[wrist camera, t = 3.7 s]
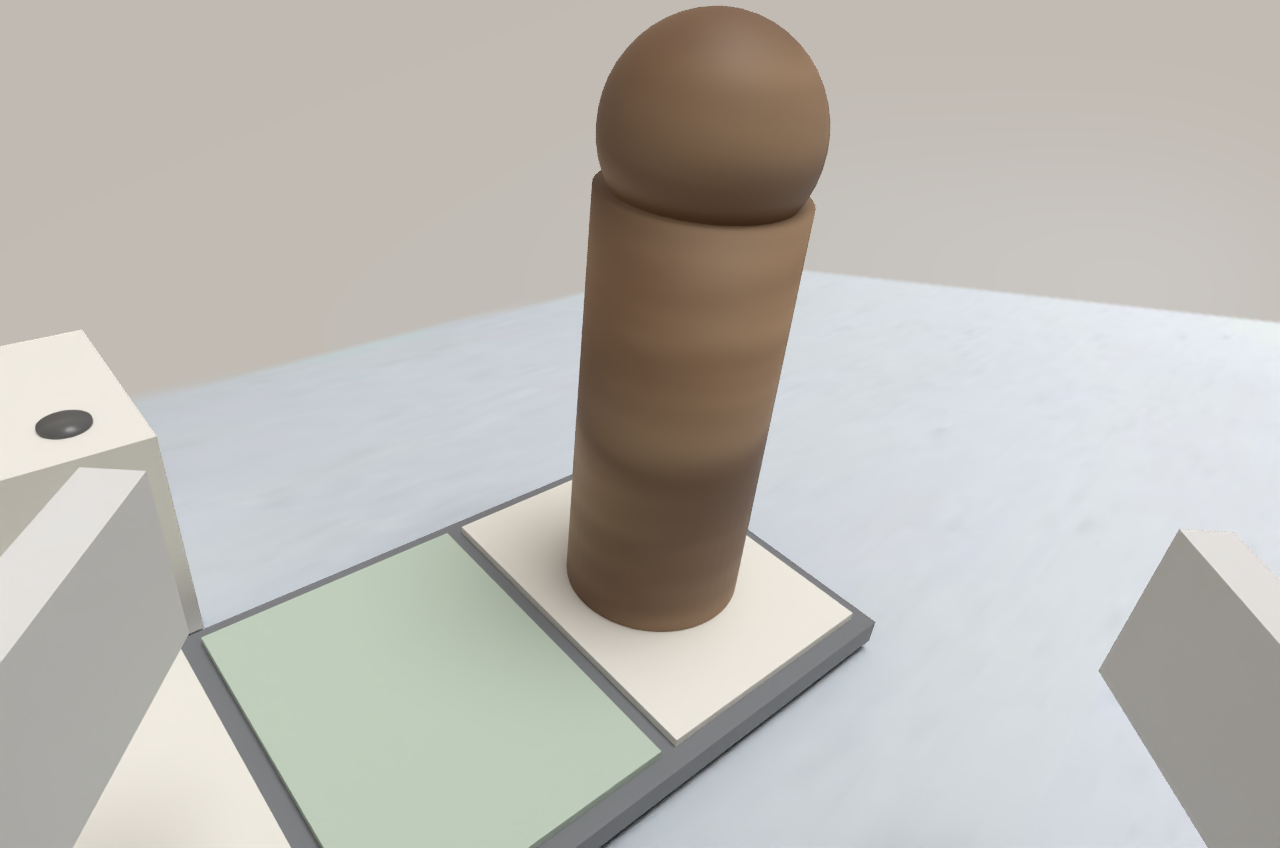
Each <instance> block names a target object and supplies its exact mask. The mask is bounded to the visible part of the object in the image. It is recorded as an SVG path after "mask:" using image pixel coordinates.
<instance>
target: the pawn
mask: <svg viewBox="0 0 1280 848" xmlns="http://www.w3.org/2000/svg"><path fill="white" fill-rule="evenodd" d="M829 138H830V114H829V106H828V101H827V97H826V93H825V89H824V85H823V83H822V80H821V78H820V76H819V73H818V70H817V69H816V67H815V65H814V63H813V62H812V60H811V58H810V56H809V55H808V54H807V53H806V51H805V50H804V49H803V47H802V46H801V45H800V44H799V43H798V42H797V41H796V40H795V39H794V38H793V37H792V36H791V35H790V34H789V33H788V32H787V31H785V30H784V29H783V28H781V27H780V26H779V25H777V24H776V23H774V22H773V21H771V20H769V19H767V18H765V17H763V16H761V15H759V14H756V13H753V12H750V11H747V10H744V9H740V8H735V7H727V6H707V7H698V8H693V9H689V10H685V11H681V12H679V13H677V14H674V15H671V16H669V17H666V18H665V19H663V20H661V21H659V22H658V23H656V24H654V25H652V26H651V27H650V28H649V29H647V30H646V31H644V32H643V33H642V34H641V35H639V36H638V37H637V38H636V39H635V40H634V41H633V43H631V44H630V46H629V47H628V48H627V49H626V50H625V51H624V53H623V54H622V55H621V57H620V58H619V59H618V61H617V62H616V64H615V66H614V67H613V69H612V71H611V73H610V74H609V76H608V79H607V82H606V84H605V86H604V89H603V91H602V95H601V99H600V103H599V107H598V114H597V122H596V145H597V153H598V159H599V162H600V166H601V171H599V172H598V173H597V174H596V175H595V176H594V178H593V182H592V194H591V208H590V222H589V238H588V252H587V253H588V254H587V267H586V282H585V297H584V312H583V327H582V342H581V357H580V372H579V387H578V401H577V416H576V431H575V446H574V461H573V476H572V491H571V506H570V521H569V536H568V551H567V566H566V567H567V575H568V579H569V582H570V584H571V586H572V588H573V590H574V592H575V593H576V594H577V596H578V597H579V598H580V599H581V600H582V602H583V603H584V604H585V605H587V606H588V607H589V608H590V609H591V610H593V611H594V612H596V613H597V614H599V615H600V616H602V617H604V618H606V619H608V620H610V621H612V622H614V623H617V624H620V625H622V626H626V627H629V628H633V629H638V630H644V631H655V632H668V631H678V630H684V629H688V628H692V627H695V626H698V625H700V624H703V623H705V622H707V621H709V620H711V619H712V618H714V617H715V616H716V615H718V614H719V613H720V612H721V611H722V610H723V609H724V608H725V607H726V606H727V605H728V603H729V602H730V600H731V598H732V596H733V594H734V591H735V586H736V582H737V577H738V572H739V568H740V563H741V558H742V554H743V549H744V544H745V539H746V535H747V530H748V525H749V521H750V516H751V511H752V506H753V502H754V497H755V492H756V487H757V483H758V478H759V473H760V469H761V464H762V459H763V454H764V450H765V445H766V440H767V436H768V431H769V426H770V421H771V417H772V412H773V407H774V403H775V398H776V393H777V388H778V384H779V379H780V374H781V370H782V365H783V360H784V355H785V351H786V346H787V341H788V337H789V332H790V327H791V322H792V318H793V313H794V308H795V303H796V299H797V294H798V289H799V285H800V280H801V275H802V270H803V266H804V261H805V256H806V252H807V247H808V242H809V237H810V233H811V228H812V223H813V218H814V214H815V204H814V202H813V200H812V199H811V198H810V195H811V193H812V191H813V190H814V188H815V186H816V184H817V182H818V180H819V177H820V175H821V172H822V170H823V167H824V163H825V159H826V156H827V152H828V145H829Z"/></svg>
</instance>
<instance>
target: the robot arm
mask: <svg viewBox="0 0 1280 848" xmlns="http://www.w3.org/2000/svg"><path fill="white" fill-rule="evenodd" d="M188 635H189V630H188V626H187V623H186V619H185V615H184V611H183V608H182V604H181V600H180V596H179V593H178V589H177V585H176V581H175V577H174V574H173V570H172V566H171V562H170V559H169V555H168V551H167V547H166V543H165V540H164V536H163V532H162V528H161V525H160V521H159V517H158V513H157V509H156V506H155V502H154V498H153V494H152V491H151V487H150V483H149V479H148V475H147V472H146V471H137V470H119V469H101V468H83V467H79V468H78V469H77V470H76V471H75V473H74V474H73V475H72V476H71V477H70V478H69V479H68V481H67V482H66V483H65V484H64V485H63V486H62V487H61V489H60V490H59V491H58V492H57V493H56V494H55V495H54V497H53V498H52V499H51V500H50V501H49V502H48V503H47V504H46V506H45V507H44V508H43V509H42V510H41V511H40V512H39V514H38V515H37V516H36V517H35V518H34V519H33V520H32V522H31V523H30V524H29V525H28V526H27V527H26V528H25V530H24V531H23V532H22V533H21V534H20V535H19V536H18V537H17V539H16V540H15V541H14V542H13V543H12V544H11V545H10V547H9V548H8V549H7V550H6V551H5V552H4V553H3V555H2V556H1V557H0V848H73V847H74V845H75V843H76V841H77V839H78V837H79V836H80V834H81V832H82V830H83V828H84V826H85V824H86V823H87V821H88V819H89V817H90V815H91V813H92V812H93V810H94V808H95V806H96V804H97V802H98V801H99V799H100V797H101V795H102V793H103V791H104V789H105V788H106V786H107V784H108V782H109V780H110V778H111V777H112V775H113V773H114V771H115V769H116V767H117V766H118V764H119V762H120V760H121V758H122V756H123V754H124V753H125V751H126V749H127V747H128V745H129V743H130V742H131V740H132V738H133V736H134V734H135V732H136V731H137V729H138V727H139V725H140V723H141V721H142V719H143V718H144V716H145V714H146V712H147V710H148V708H149V707H150V705H151V703H152V701H153V699H154V697H155V696H156V694H157V692H158V690H159V688H160V686H161V684H162V683H163V681H164V679H165V677H166V675H167V673H168V672H169V670H170V668H171V666H172V664H173V662H174V661H175V659H176V657H177V655H178V653H179V651H180V649H181V648H182V646H183V644H184V642H185V640H186V638H187V637H188ZM1099 672H1100V674H1101V675H1102V677H1103V679H1104V680H1105V682H1106V684H1107V685H1108V687H1109V688H1110V690H1111V692H1112V693H1113V695H1114V696H1115V698H1116V700H1117V701H1118V703H1119V705H1120V706H1121V708H1122V709H1123V711H1124V713H1125V714H1126V716H1127V718H1128V719H1129V721H1130V722H1131V724H1132V726H1133V727H1134V729H1135V730H1136V732H1137V734H1138V735H1139V737H1140V739H1141V740H1142V742H1143V743H1144V745H1145V747H1146V748H1147V750H1148V752H1149V753H1150V755H1151V756H1152V758H1153V760H1154V761H1155V763H1156V764H1157V766H1158V768H1159V769H1160V771H1161V773H1162V774H1163V776H1164V777H1165V779H1166V781H1167V782H1168V784H1169V785H1170V787H1171V789H1172V790H1173V792H1174V794H1175V795H1176V797H1177V798H1178V800H1179V802H1180V803H1181V805H1182V807H1183V808H1184V810H1185V811H1186V813H1187V815H1188V816H1189V818H1190V819H1191V821H1192V823H1193V824H1194V826H1195V828H1196V829H1197V831H1198V832H1199V834H1200V836H1201V837H1202V839H1203V841H1204V842H1205V844H1206V845H1207V847H1208V848H1280V581H1279V579H1278V578H1277V577H1276V576H1275V575H1274V574H1273V573H1272V572H1271V571H1270V570H1269V569H1268V568H1267V567H1266V566H1265V565H1264V564H1263V563H1262V562H1261V561H1260V559H1259V558H1258V557H1257V556H1256V555H1255V554H1254V553H1253V552H1252V551H1251V550H1250V549H1249V548H1248V547H1247V546H1246V545H1245V544H1244V543H1243V542H1242V541H1241V540H1240V538H1239V537H1238V536H1237V535H1236V534H1235V533H1234V532H1223V531H1205V530H1187V529H1179V531H1178V532H1177V534H1176V536H1175V538H1174V539H1173V541H1172V543H1171V545H1170V546H1169V548H1168V550H1167V552H1166V553H1165V555H1164V557H1163V559H1162V560H1161V562H1160V564H1159V566H1158V567H1157V569H1156V571H1155V573H1154V574H1153V576H1152V578H1151V580H1150V581H1149V583H1148V585H1147V587H1146V588H1145V590H1144V592H1143V594H1142V595H1141V597H1140V599H1139V601H1138V602H1137V604H1136V606H1135V608H1134V609H1133V611H1132V613H1131V615H1130V616H1129V618H1128V620H1127V622H1126V623H1125V625H1124V627H1123V629H1122V631H1121V632H1120V634H1119V636H1118V638H1117V639H1116V641H1115V643H1114V645H1113V646H1112V648H1111V650H1110V652H1109V653H1108V655H1107V657H1106V659H1105V660H1104V662H1103V664H1102V666H1101V667H1100V669H1099Z"/></svg>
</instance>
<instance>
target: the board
mask: <svg viewBox="0 0 1280 848" xmlns="http://www.w3.org/2000/svg"><path fill="white" fill-rule="evenodd" d="M572 476H573V474H572V475H570V476H567V477H565V478H562V479H560V480H558V481H555V482H553V483H550V484H548V485H546V486H543V487H541V488H539V489H536V490H534V491H531V492H529V493H527V494H524V495H522V496H520V497H517V498H515V499H512V500H510V501H508V502H505V503H503V504H501V505H498V506H496V507H493V508H491V509H489V510H486V511H484V512H481V513H479V514H477V515H474V516H472V517H470V518H467V519H465V520H462V521H460V522H458V523H455V524H453V525H451V526H448V527H446V528H443V529H441V530H439V531H436V532H434V533H431V534H429V535H427V536H424V537H422V538H420V539H417V540H415V541H412V542H410V543H408V544H405V545H403V546H401V547H398V548H396V549H393V550H391V551H389V552H386V553H384V554H382V555H379V556H377V557H374V558H372V559H370V560H367V561H365V562H362V563H360V564H358V565H355V566H353V567H351V568H348V569H346V570H343V571H341V572H339V573H336V574H334V575H332V576H329V577H327V578H324V579H322V580H320V581H317V582H315V583H312V584H310V585H308V586H305V587H303V588H301V589H298V590H296V591H293V592H291V593H289V594H286V595H284V596H282V597H279V598H277V599H274V600H272V601H270V602H267V603H265V604H263V605H260V606H258V607H255V608H253V609H251V610H248V611H246V612H243V613H241V614H239V615H236V616H234V617H232V618H229V619H227V620H224V621H222V622H220V623H217V624H215V625H213V626H210V627H208V628H205V629H203V630H201V631H198V632H196V633H193V634H191V635H189V636H188V637H187V638H186V640H185V642H184V644H183V646H182V648H181V649H180V651H179V653H178V655H177V657H176V659H175V661H174V662H173V664H172V666H171V668H170V670H169V672H168V673H167V675H166V677H165V679H164V681H163V683H162V684H161V686H160V688H159V690H158V692H157V694H156V696H155V697H154V699H153V701H152V703H151V705H150V707H149V708H148V710H147V712H146V714H145V716H144V718H143V719H142V721H141V723H140V725H139V727H138V729H137V731H136V732H135V734H134V736H133V738H132V740H131V742H130V743H129V745H128V747H127V749H126V751H125V753H124V754H123V756H122V758H121V760H120V762H119V764H118V766H117V767H116V769H115V771H114V773H113V775H112V777H111V778H110V780H109V782H108V784H107V786H106V788H105V789H104V791H103V793H102V795H101V797H100V799H99V801H98V802H97V804H96V806H95V808H94V810H93V812H92V813H91V815H90V817H89V819H88V821H87V823H86V824H85V826H84V828H83V830H82V832H81V834H80V836H79V837H78V839H77V841H76V843H75V845H74V847H73V848H599V847H601V846H602V845H603V844H605V843H606V842H607V841H609V840H610V839H611V838H612V837H614V836H615V835H616V834H618V833H619V832H620V831H622V830H623V829H624V828H625V827H627V826H628V825H629V824H631V823H632V822H633V821H635V820H636V819H637V818H638V817H640V816H641V815H642V814H644V813H645V812H646V811H648V810H649V809H650V808H652V807H653V806H654V805H655V804H657V803H658V802H659V801H661V800H662V799H663V798H665V797H666V796H667V795H668V794H670V793H671V792H672V791H674V790H675V789H676V788H678V787H679V786H680V785H681V784H683V783H684V782H685V781H687V780H688V779H689V778H691V777H692V776H693V775H694V774H696V773H697V772H698V771H700V770H701V769H702V768H704V767H705V766H706V765H707V764H709V763H710V762H711V761H713V760H714V759H715V758H717V757H718V756H719V755H720V754H722V753H723V752H724V751H726V750H727V749H728V748H730V747H731V746H732V745H733V744H735V743H736V742H737V741H739V740H740V739H741V738H743V737H744V736H745V735H746V734H748V733H749V732H750V731H752V730H753V729H754V728H756V727H757V726H758V725H759V724H761V723H762V722H763V721H765V720H766V719H767V718H769V717H770V716H771V715H772V714H774V713H775V712H776V711H778V710H779V709H780V708H782V707H783V706H784V705H785V704H787V703H788V702H789V701H791V700H792V699H793V698H795V697H796V696H797V695H798V694H800V693H801V692H802V691H804V690H805V689H806V688H808V687H809V686H810V685H812V684H813V683H814V682H815V681H817V680H818V679H819V678H821V677H822V676H823V675H825V674H826V673H827V672H828V671H830V670H831V669H832V668H834V667H835V666H836V665H838V664H839V663H840V662H841V661H843V660H844V659H845V658H847V657H848V656H849V655H851V654H852V653H853V652H854V651H856V650H857V649H858V648H860V647H861V646H862V645H864V644H865V643H866V642H867V641H869V639H870V636H871V633H872V630H873V627H874V624H875V622H874V621H873V620H872V619H870V618H869V617H867V616H866V615H865V614H863V613H862V612H861V611H859V610H858V609H856V608H855V607H854V606H852V605H851V604H850V603H848V602H847V601H845V600H844V599H843V598H841V597H840V596H839V595H837V594H836V593H834V592H833V591H832V590H830V589H829V588H828V587H826V586H825V585H823V584H822V583H821V582H819V581H818V580H817V579H815V578H814V577H812V576H811V575H810V574H808V573H807V572H805V571H804V570H803V569H801V568H800V567H799V566H797V565H796V564H794V563H793V562H792V561H790V560H789V559H788V558H786V557H785V556H783V555H782V554H781V553H779V552H778V551H777V550H775V549H774V548H772V547H771V546H770V545H768V544H767V543H766V542H764V541H763V540H761V539H760V538H759V537H757V536H756V535H755V534H753V533H752V532H750V531H749V530H747V535H746V539H745V544H744V549H743V554H742V558H741V563H740V568H739V572H738V577H737V582H736V586H735V591H734V594H733V596H732V598H731V600H730V602H729V603H728V605H727V606H726V607H725V608H724V609H723V610H722V611H721V612H720V613H719V614H718V615H716V616H715V617H714V618H712V619H711V620H709V621H707V622H705V623H703V624H700V625H698V626H695V627H692V628H688V629H684V630H678V631H668V632H655V631H644V630H638V629H633V628H629V627H626V626H622V625H620V624H617V623H614V622H612V621H610V620H608V619H606V618H604V617H602V616H600V615H599V614H597V613H596V612H594V611H593V610H591V609H590V608H589V607H588V606H587V605H585V604H584V603H583V602H582V600H581V599H580V598H579V597H578V596H577V594H576V593H575V592H574V590H573V588H572V586H571V584H570V582H569V579H568V575H567V567H566V566H567V551H568V536H569V521H570V506H571V491H572Z"/></svg>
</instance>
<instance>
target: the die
mask: <svg viewBox="0 0 1280 848" xmlns="http://www.w3.org/2000/svg"><path fill="white" fill-rule="evenodd" d="M79 467H83V468H101V469H119V470H137V471H146V472H147V475H148V479H149V483H150V487H151V491H152V494H153V498H154V502H155V506H156V509H157V513H158V517H159V521H160V525H161V528H162V532H163V536H164V540H165V543H166V547H167V551H168V555H169V559H170V562H171V566H172V570H173V574H174V577H175V581H176V585H177V589H178V593H179V596H180V600H181V604H182V608H183V611H184V615H185V619H186V623H187V626H188V630H189V634H190V633H192V632H194V631H197V630H199V629H202V628H204V626H203V622H202V618H201V614H200V610H199V605H198V601H197V597H196V593H195V589H194V585H193V581H192V577H191V573H190V569H189V565H188V561H187V557H186V553H185V549H184V545H183V541H182V537H181V533H180V529H179V525H178V521H177V517H176V513H175V509H174V505H173V501H172V497H171V493H170V488H169V484H168V480H167V476H166V472H165V468H164V464H163V460H162V456H161V452H160V448H159V444H158V440H157V436H156V435H155V433H154V432H153V431H152V429H151V428H150V426H149V425H148V423H147V422H146V421H145V419H144V418H143V416H142V415H141V413H140V412H139V411H138V409H137V408H136V406H135V405H134V403H133V402H132V400H131V399H130V398H129V396H128V395H127V394H126V392H125V391H124V389H123V388H122V386H121V385H120V383H119V382H118V380H117V379H116V378H115V376H114V375H113V373H112V372H111V370H110V369H109V368H108V366H107V365H106V363H105V362H104V361H103V359H102V358H101V356H100V355H99V353H98V352H97V350H96V349H95V348H94V346H93V345H92V343H91V342H90V340H89V339H88V337H87V336H86V335H85V333H84V332H83V331H82V330H78V331H73V332H68V333H63V334H58V335H53V336H48V337H43V338H38V339H33V340H29V341H24V342H19V343H14V344H9V345H5V346H0V557H1V556H2V555H3V553H4V552H5V551H6V550H7V549H8V548H9V547H10V545H11V544H12V543H13V542H14V541H15V540H16V539H17V537H18V536H19V535H20V534H21V533H22V532H23V531H24V530H25V528H26V527H27V526H28V525H29V524H30V523H31V522H32V520H33V519H34V518H35V517H36V516H37V515H38V514H39V512H40V511H41V510H42V509H43V508H44V507H45V506H46V504H47V503H48V502H49V501H50V500H51V499H52V498H53V497H54V495H55V494H56V493H57V492H58V491H59V490H60V489H61V487H62V486H63V485H64V484H65V483H66V482H67V481H68V479H69V478H70V477H71V476H72V475H73V474H74V473H75V471H76V470H77V469H78V468H79Z"/></svg>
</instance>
